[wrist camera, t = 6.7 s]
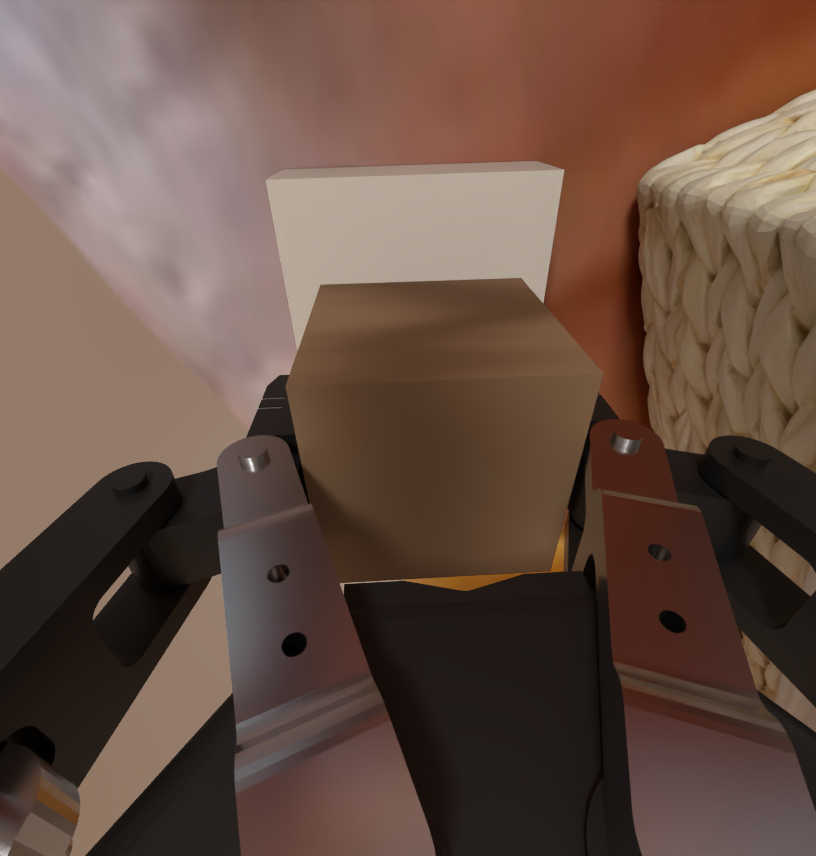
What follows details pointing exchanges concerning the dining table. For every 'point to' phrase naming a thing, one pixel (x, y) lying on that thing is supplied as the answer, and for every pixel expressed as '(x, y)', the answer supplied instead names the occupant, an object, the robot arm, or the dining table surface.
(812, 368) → the storage basket
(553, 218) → the white flat block
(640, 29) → the dining table surface
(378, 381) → the walnut cube
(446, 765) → the robot arm
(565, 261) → the dining table surface
